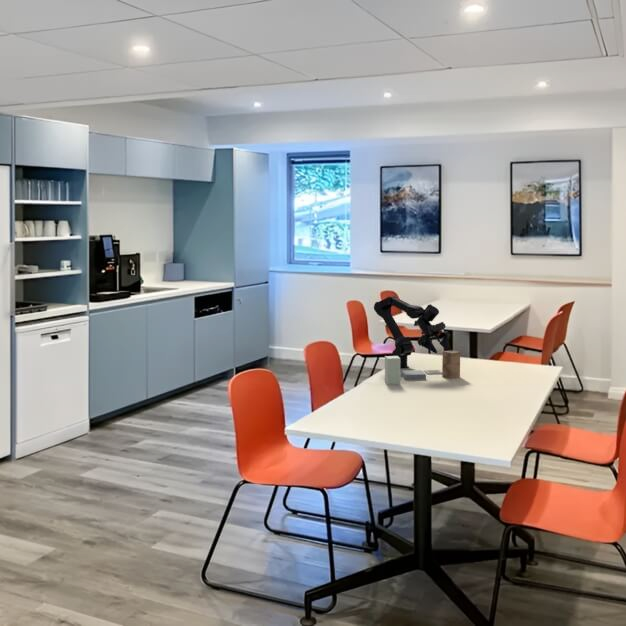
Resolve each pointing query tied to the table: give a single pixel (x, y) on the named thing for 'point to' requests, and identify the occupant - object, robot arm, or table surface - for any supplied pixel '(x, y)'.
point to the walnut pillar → (451, 364)
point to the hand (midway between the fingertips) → (442, 351)
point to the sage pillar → (392, 370)
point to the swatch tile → (433, 371)
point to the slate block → (413, 375)
